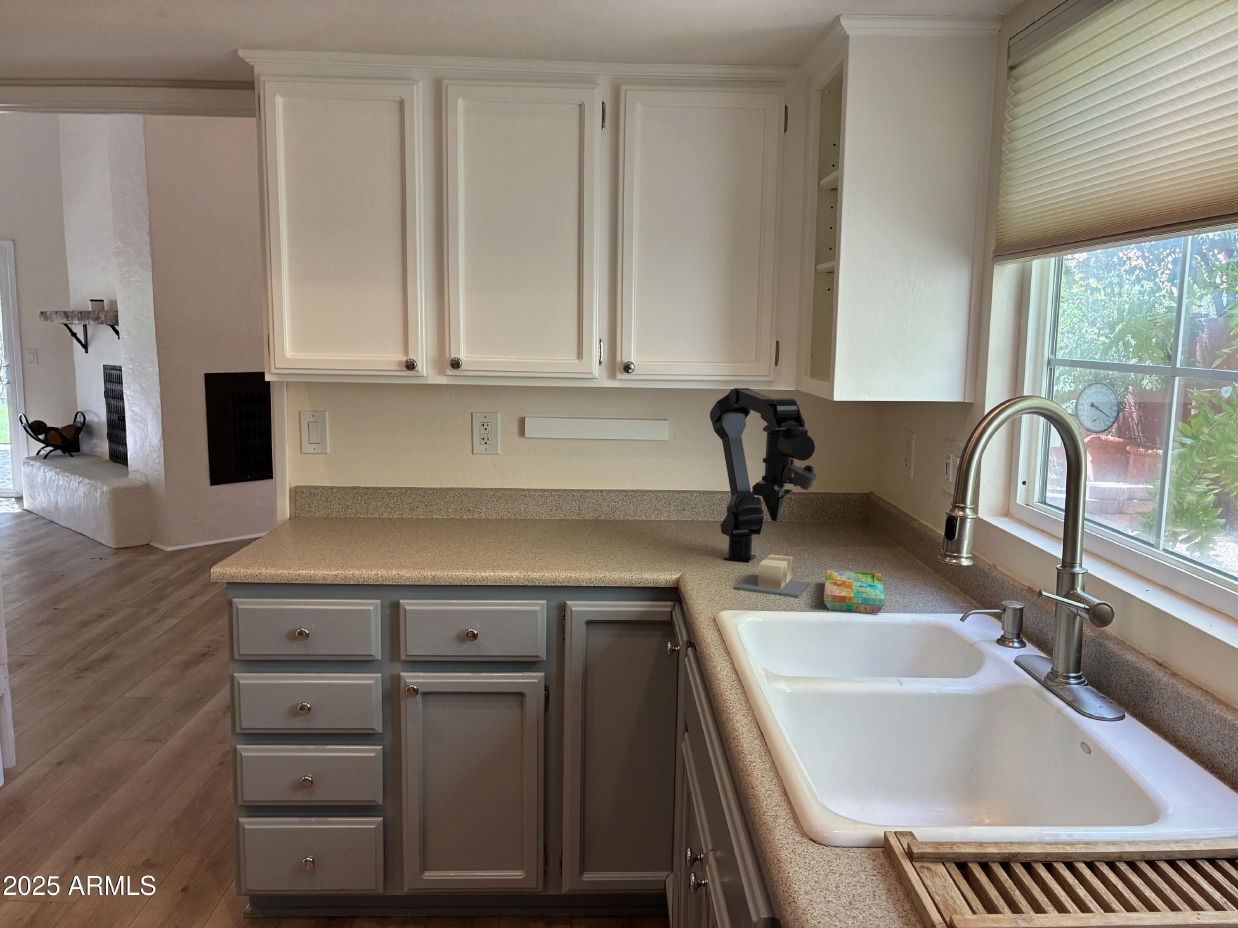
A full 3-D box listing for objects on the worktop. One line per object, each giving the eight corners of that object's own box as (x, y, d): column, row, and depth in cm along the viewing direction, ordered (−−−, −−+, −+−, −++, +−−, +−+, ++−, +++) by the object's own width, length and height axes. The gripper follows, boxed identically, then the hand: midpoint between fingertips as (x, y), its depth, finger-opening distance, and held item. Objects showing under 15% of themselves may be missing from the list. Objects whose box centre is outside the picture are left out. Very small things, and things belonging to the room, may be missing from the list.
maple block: (770, 554, 210) (758, 563, 201) (792, 556, 208) (781, 566, 199) (769, 575, 211) (757, 586, 202) (791, 578, 209) (780, 589, 200)
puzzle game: (824, 589, 186) (826, 565, 205) (823, 612, 187) (825, 586, 206) (884, 594, 183) (881, 569, 203) (883, 617, 184) (880, 590, 203)
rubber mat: (748, 577, 211) (748, 574, 211) (809, 585, 206) (809, 582, 205) (734, 589, 201) (734, 586, 201) (798, 597, 196) (798, 594, 195)
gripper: (803, 462, 198) (798, 533, 201) (823, 451, 215) (819, 517, 217) (753, 458, 203) (749, 527, 205) (776, 447, 219) (772, 511, 222)
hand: (774, 520), depth 212 cm, fingers closed
